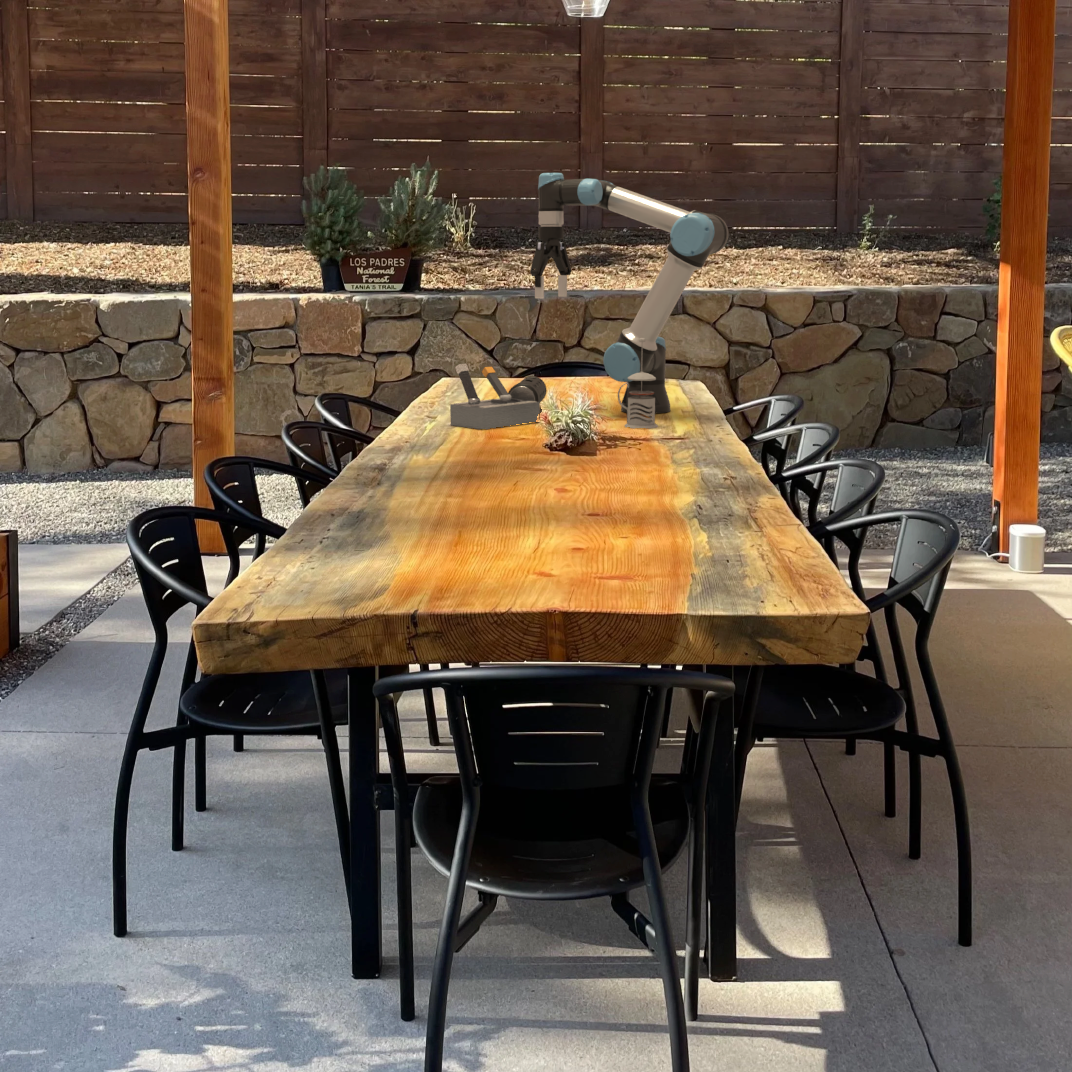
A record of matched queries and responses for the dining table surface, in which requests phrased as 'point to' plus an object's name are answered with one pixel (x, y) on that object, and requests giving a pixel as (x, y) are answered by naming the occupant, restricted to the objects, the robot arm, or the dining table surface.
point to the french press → (634, 418)
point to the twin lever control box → (489, 408)
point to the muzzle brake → (529, 389)
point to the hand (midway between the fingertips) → (551, 297)
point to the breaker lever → (496, 383)
